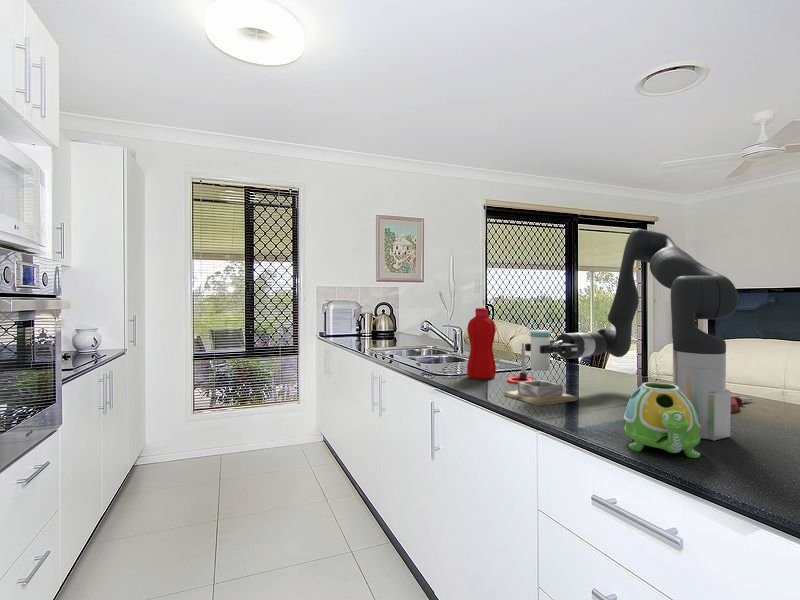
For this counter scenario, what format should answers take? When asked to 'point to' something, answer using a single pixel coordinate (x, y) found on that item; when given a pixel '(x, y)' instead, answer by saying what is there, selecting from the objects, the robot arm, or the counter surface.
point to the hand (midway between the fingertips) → (533, 348)
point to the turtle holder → (662, 419)
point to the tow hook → (523, 371)
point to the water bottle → (481, 346)
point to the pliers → (737, 402)
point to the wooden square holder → (540, 393)
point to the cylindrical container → (538, 359)
